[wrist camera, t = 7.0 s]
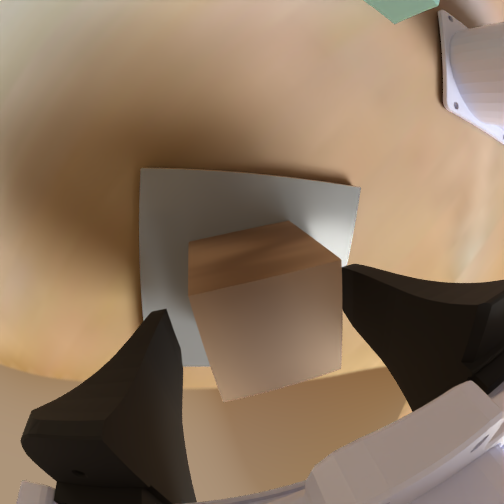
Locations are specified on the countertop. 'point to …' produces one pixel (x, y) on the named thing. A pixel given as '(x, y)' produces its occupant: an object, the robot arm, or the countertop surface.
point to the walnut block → (266, 307)
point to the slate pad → (225, 228)
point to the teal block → (401, 8)
